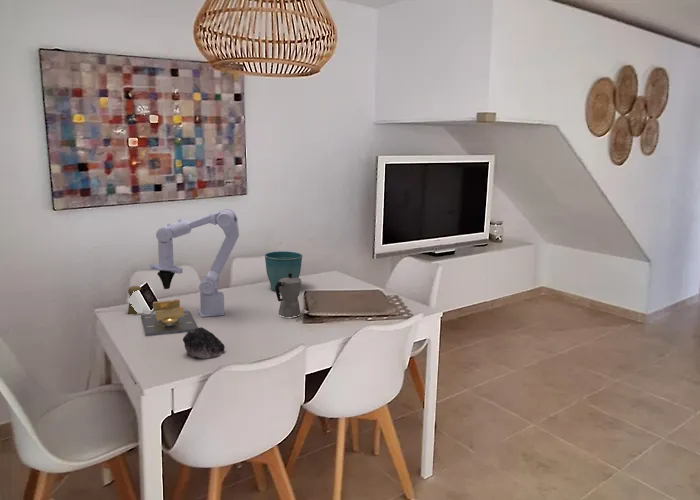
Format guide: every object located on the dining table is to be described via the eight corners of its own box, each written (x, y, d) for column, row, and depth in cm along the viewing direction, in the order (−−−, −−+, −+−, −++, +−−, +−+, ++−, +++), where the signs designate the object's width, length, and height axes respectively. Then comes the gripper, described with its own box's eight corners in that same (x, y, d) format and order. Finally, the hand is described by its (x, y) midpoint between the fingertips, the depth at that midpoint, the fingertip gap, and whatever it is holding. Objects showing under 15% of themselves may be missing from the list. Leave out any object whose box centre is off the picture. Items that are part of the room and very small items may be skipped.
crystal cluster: (226, 346, 203) (224, 319, 202) (223, 358, 190) (221, 329, 189) (188, 350, 202) (185, 322, 200) (182, 362, 188) (179, 333, 187)
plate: (189, 313, 235) (189, 308, 235) (198, 330, 216) (198, 326, 215) (140, 317, 228) (140, 313, 227) (145, 336, 208) (145, 331, 208)
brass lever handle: (154, 321, 218) (154, 308, 217) (180, 317, 223) (180, 305, 222) (158, 326, 213) (158, 313, 212) (185, 322, 218) (185, 309, 217)
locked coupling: (152, 312, 228) (152, 299, 227) (178, 309, 232) (178, 297, 231) (154, 316, 223) (153, 304, 222) (180, 314, 227) (180, 302, 226)
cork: (138, 315, 230) (137, 289, 228) (124, 314, 231) (123, 288, 229) (146, 311, 236) (145, 285, 234) (133, 309, 237) (132, 284, 235)
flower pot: (265, 283, 284) (265, 250, 280) (301, 284, 286) (302, 251, 282) (263, 294, 266) (263, 258, 263) (302, 294, 268) (303, 259, 265)
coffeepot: (291, 309, 246) (292, 268, 242) (308, 313, 241) (309, 272, 237) (266, 317, 233) (266, 275, 230) (283, 322, 228) (284, 279, 224)
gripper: (144, 255, 229) (145, 288, 231) (174, 260, 224) (175, 293, 226) (156, 252, 235) (157, 284, 238) (185, 256, 230) (186, 289, 233)
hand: (166, 288), depth 233 cm, fingers closed
